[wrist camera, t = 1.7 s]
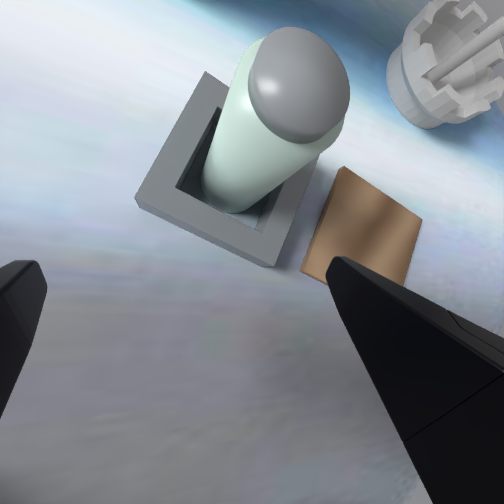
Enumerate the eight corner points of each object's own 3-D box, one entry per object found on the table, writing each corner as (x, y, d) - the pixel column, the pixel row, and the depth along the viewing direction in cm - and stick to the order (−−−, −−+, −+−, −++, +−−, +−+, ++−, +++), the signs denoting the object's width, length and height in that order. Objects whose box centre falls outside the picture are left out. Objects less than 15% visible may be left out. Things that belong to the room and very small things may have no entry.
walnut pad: (416, 220, 29) (422, 219, 29) (387, 315, 27) (393, 316, 26) (339, 168, 26) (344, 165, 25) (299, 271, 24) (303, 271, 23)
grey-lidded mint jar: (268, 173, 24) (375, 70, 11) (245, 223, 23) (335, 170, 10) (216, 142, 22) (274, -15, 10) (190, 194, 21) (217, 91, 9)
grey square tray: (304, 163, 25) (328, 145, 21) (261, 266, 23) (279, 266, 19) (200, 96, 22) (206, 60, 18) (139, 207, 20) (131, 193, 16)
